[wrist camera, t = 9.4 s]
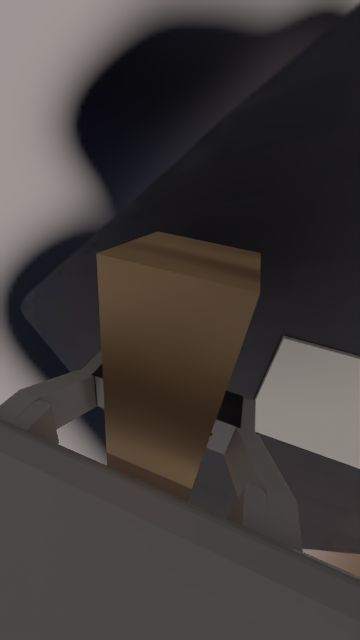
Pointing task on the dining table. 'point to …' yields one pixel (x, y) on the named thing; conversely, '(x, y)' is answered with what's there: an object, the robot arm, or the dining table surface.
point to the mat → (312, 400)
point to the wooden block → (170, 349)
